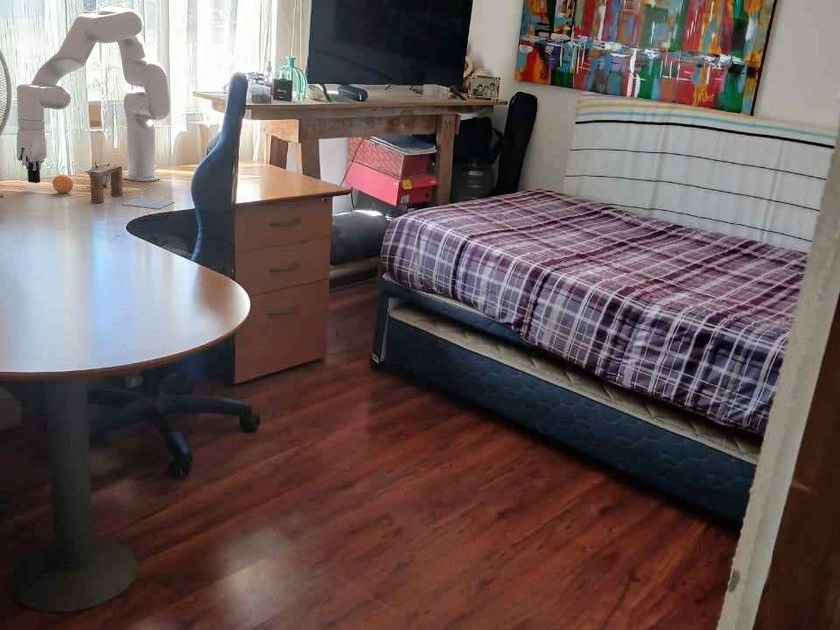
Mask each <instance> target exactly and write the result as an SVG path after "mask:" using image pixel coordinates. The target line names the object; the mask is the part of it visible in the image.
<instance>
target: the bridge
mask: <svg viewBox="0 0 840 630" xmlns="http://www.w3.org/2000/svg"><path fill="white" fill-rule="evenodd" d="M109 173H111V180H110V196H116V197H121V196H123V192H124V191H123V166H122V165H118V164H117V165H116V164H112V165H109V166H108V167H104V168H101V169H97V170H94V171H90V177H89V179H90V201H91V203H94V202H96V204H102V202H103V203H104V185H103V175H106V174H109Z"/></svg>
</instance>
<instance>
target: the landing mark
mask: <svg viewBox="0 0 840 630" xmlns="http://www.w3.org/2000/svg"><path fill="white" fill-rule="evenodd" d="M174 203H175V201H171V200H164V199H162V200H161V199H154V198H147V197H138V198H135V199H133V200H130V201H127V202H125V203H123V204H122V205H123V206H128V205H130V207H136V206H137V208H146V209H153V210H154V209H155V210H160V209H161V210H162V209H163V208H165V207H167V206H170V205H171V204H174ZM122 205H121V206H122Z"/></svg>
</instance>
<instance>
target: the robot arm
mask: <svg viewBox="0 0 840 630" xmlns="http://www.w3.org/2000/svg"><path fill="white" fill-rule="evenodd" d="M143 28H144V20H143V17H142V15H141V14H140V13H139V12H138V11H136V10H134V9H130V8H123V7H122V8H121V7H115V6H108V7H107V6H106V7H103V8H101V9H100V10H99V11H98V13H97V14H88V13H86V14H85V13H83V14H80V15H78V16H77V17H76V18H75V20H74V21H73V23H72V25H71V26H70V29H69V30H68V32H67V34H66V37H65V38H64V40H63V42H62V44H61V46H60V47H59V50H58V51H57V52H56V53H55V54H53V55H52V56H51V57H50V58H49V59H48V60H47V61H46V62H44V64H43V65H41V67H40V68H39V69H38V71H37V72H36V74H35V75H34V77H33V79H32V82H30V84H28V83H27V84H18V85H17V86H16V101H17V102H16V104H17V122H18V123H17V124H18V130H17V133H16V134H17V135H16V159H17V160H18V161H20V162H21V165H22V166H23V167H26V170H27V182H28V183H33V184H39V183H41V168H42V167H41V166H42V164H43V163H44V162H45V159H46V158H47V156H48V154H47V153H48V150H47V149H48V148H47V140H46V139H47V138H46V133H45V109H50V110H56V111H58V110H60V111H61V110H64V109H66V108H67V107H68V106H70V103H71V100H72V97H71V93H70V92H69V91H68V89H66V88H65V87H64V86H63V87H62V86H60V85H58V83H59V81H60V80H61V79H62V78H64V77H65V76H66V75H68V74H70V73H73V72H76V71H78V70H80V69H81V68H83V67H85V66H86V63H87V62H88V59H89V58H90V56H91V54H92V51H93V50H94V48H95V46H96V44H97V43H99V44H109V43H117V45H118V48H119V54H120V58H121V65H122V71H123V77H124V79H125V82H126V83H127V84H128V85H130V86H135V87H138V88H144V89H138V88H136V89H132V90H129V91H127V93H126V94H125V95H124V96H123V97H124V98H123V109H124V114H125V119H126V132H127V133H126V142H127V143H126V146H127V172H125V173H123V179H126V180H129V181H134V182H135V181H136V182H153V181H155V182H156V181H159V180H160V178H161V176H160V175H159V174H157V173H156V171H157V170H158V169H159V166H158V165H157V164H156V131H155V130H156V129H155V125H154V122H153V121H163V120H165V119H166V118H167V117H168V115H169V113H170V110H171V100H170V95H169V84H168V78H167V77H168V76H167V73H166V71H165V69H164V67H163V66H162V65H161V64H160V63H159V62H158V61H155V60H151V59H148V56H147V52H146V51H147V50H146V46H145V42H144V38H143V36H142V35H141V32H142V31H143ZM158 179H159V180H158Z"/></svg>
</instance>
